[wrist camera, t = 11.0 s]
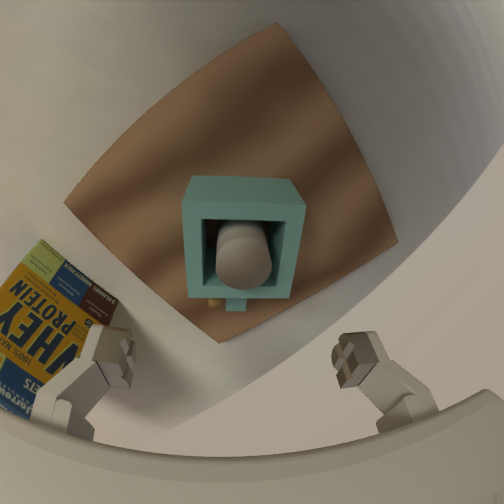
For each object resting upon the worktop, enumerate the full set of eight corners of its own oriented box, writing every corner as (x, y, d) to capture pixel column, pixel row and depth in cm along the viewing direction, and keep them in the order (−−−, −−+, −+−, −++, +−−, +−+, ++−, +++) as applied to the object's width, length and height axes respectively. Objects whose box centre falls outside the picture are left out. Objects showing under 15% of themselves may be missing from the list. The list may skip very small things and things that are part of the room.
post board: (70, 196, 18) (22, 242, 12) (274, 26, 13) (300, -8, 7) (219, 334, 28) (219, 393, 22) (392, 235, 23) (433, 283, 17)
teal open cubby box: (192, 175, 18) (181, 201, 14) (289, 179, 18) (306, 205, 14) (196, 294, 23) (192, 335, 19) (272, 294, 24) (280, 334, 20)
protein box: (121, 299, 25) (77, 446, 12) (73, 353, 30) (44, 451, 17) (40, 235, 20) (-49, 362, 7) (14, 309, 25) (-32, 402, 12)
